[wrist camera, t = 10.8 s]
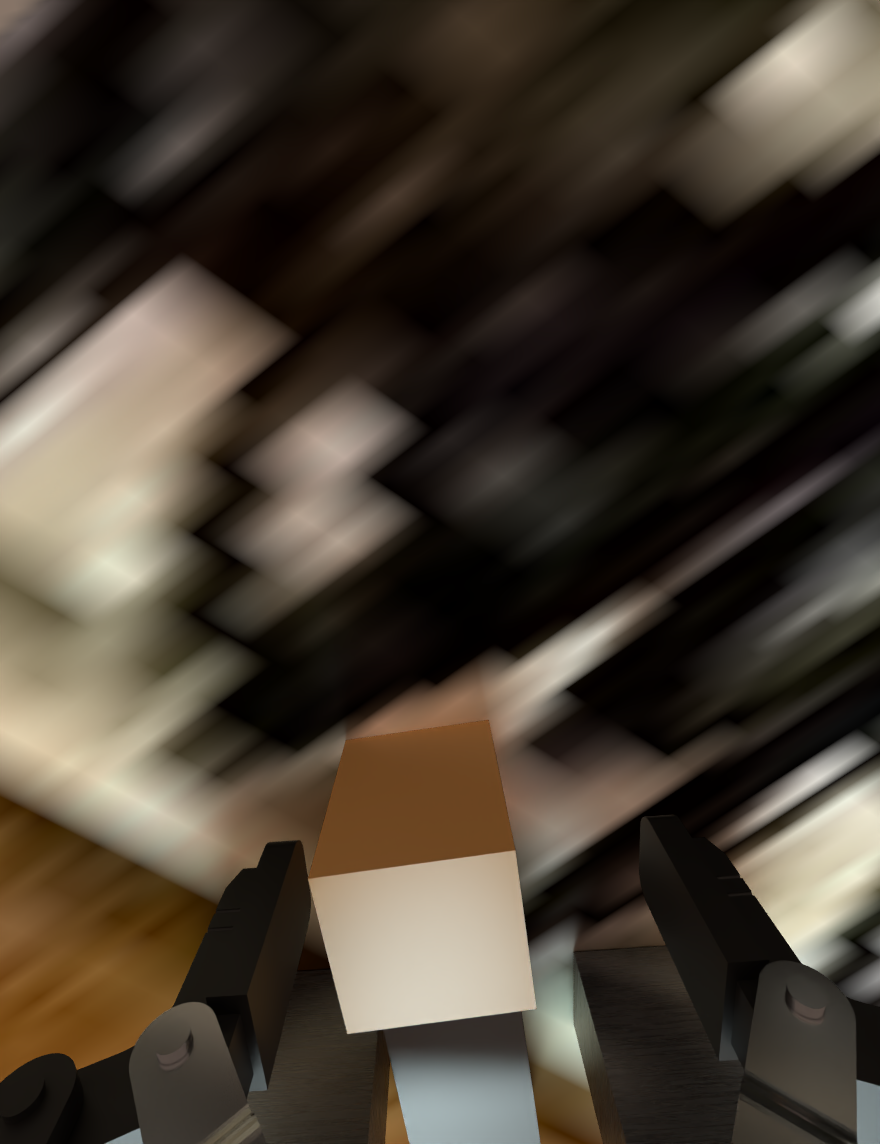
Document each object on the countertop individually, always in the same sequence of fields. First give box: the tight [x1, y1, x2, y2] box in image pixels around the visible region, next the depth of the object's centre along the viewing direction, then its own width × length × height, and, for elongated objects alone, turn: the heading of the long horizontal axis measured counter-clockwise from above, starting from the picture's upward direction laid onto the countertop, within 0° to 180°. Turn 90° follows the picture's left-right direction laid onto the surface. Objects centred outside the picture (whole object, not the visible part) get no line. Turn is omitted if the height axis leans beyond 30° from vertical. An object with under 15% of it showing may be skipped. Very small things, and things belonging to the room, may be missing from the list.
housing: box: [247, 946, 744, 1144], centre depth 14 cm, size 16×3×7 cm, turn 94°
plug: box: [308, 720, 540, 1144], centre depth 14 cm, size 14×4×5 cm, turn 8°
